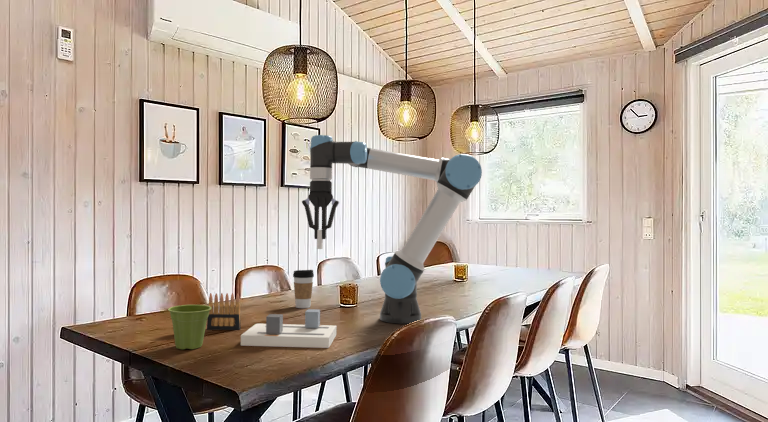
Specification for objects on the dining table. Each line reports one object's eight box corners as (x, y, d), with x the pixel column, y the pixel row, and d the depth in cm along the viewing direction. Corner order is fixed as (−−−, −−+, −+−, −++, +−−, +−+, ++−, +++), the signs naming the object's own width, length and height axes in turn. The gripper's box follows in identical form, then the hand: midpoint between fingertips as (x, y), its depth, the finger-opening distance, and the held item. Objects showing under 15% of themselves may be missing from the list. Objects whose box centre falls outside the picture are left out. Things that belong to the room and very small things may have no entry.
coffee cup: (309, 309, 216) (309, 271, 216) (289, 308, 218) (289, 270, 218) (316, 305, 225) (316, 269, 225) (296, 304, 226) (297, 268, 226)
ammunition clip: (240, 328, 182) (241, 292, 181) (239, 329, 180) (240, 293, 180) (208, 328, 181) (208, 292, 181) (206, 329, 179) (207, 293, 179)
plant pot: (198, 353, 151) (198, 312, 151) (159, 351, 153) (159, 310, 152) (218, 342, 162) (218, 305, 162) (181, 340, 164) (181, 303, 164)
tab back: (319, 325, 173) (320, 309, 173) (317, 328, 169) (318, 312, 169) (307, 324, 173) (307, 309, 173) (305, 327, 169) (305, 311, 169)
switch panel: (336, 334, 174) (336, 325, 174) (328, 347, 158) (328, 337, 158) (256, 332, 176) (256, 323, 176) (240, 345, 160) (240, 334, 160)
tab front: (282, 330, 165) (282, 314, 165) (279, 334, 161) (279, 317, 161) (269, 330, 165) (269, 314, 165) (266, 333, 161) (266, 316, 161)
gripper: (341, 181, 192) (340, 248, 192) (304, 180, 192) (303, 247, 193) (338, 180, 184) (337, 249, 184) (300, 179, 185) (299, 249, 185)
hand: (320, 248), depth 189 cm, fingers closed
